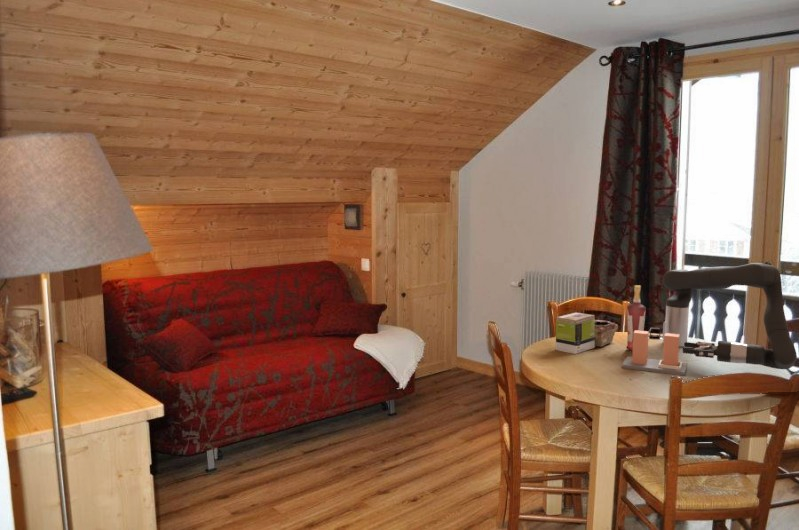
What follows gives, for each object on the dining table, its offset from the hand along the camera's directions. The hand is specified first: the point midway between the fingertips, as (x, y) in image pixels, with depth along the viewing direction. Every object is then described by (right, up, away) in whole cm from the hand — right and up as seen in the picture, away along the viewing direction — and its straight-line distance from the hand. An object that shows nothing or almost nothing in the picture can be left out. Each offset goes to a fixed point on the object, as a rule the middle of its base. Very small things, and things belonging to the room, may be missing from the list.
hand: (683, 347), depth 239 cm
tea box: (-32, -5, +33) cm, 46 cm away
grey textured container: (-18, -4, +45) cm, 48 cm away
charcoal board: (-9, -8, +6) cm, 13 cm away
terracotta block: (-4, -7, +3) cm, 9 cm away
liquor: (-7, -6, +30) cm, 31 cm away
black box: (+11, -3, +55) cm, 56 cm away
